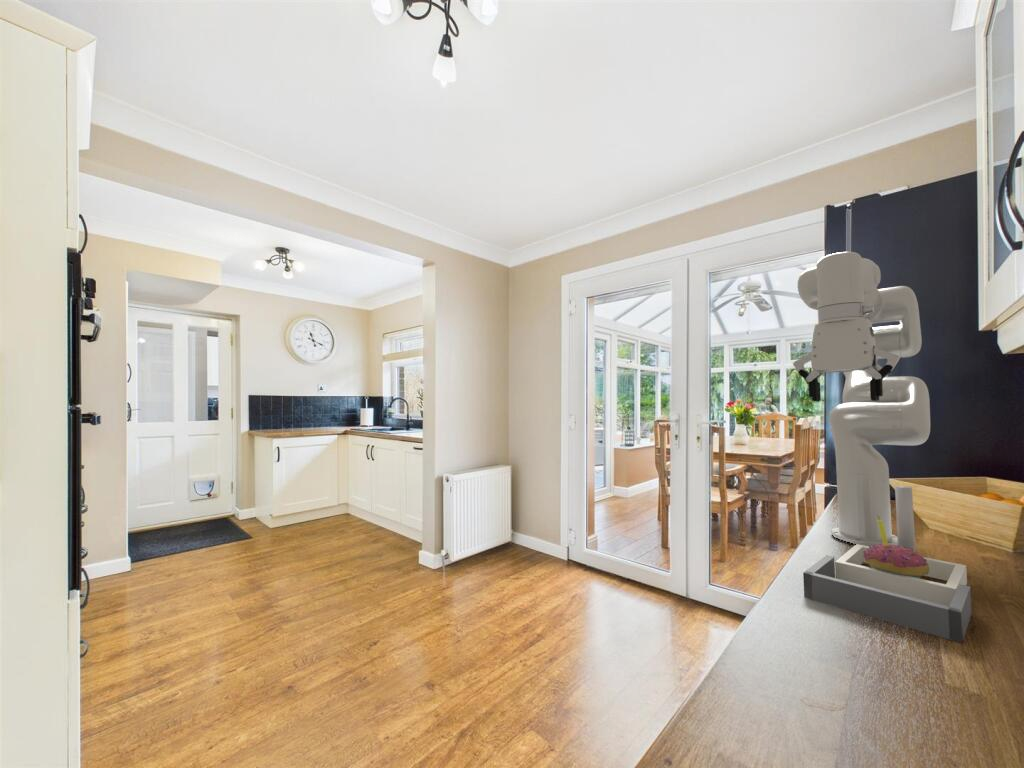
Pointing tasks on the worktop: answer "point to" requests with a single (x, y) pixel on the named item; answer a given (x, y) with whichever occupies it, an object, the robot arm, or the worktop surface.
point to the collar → (900, 584)
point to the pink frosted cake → (895, 558)
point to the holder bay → (889, 603)
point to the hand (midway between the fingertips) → (844, 400)
